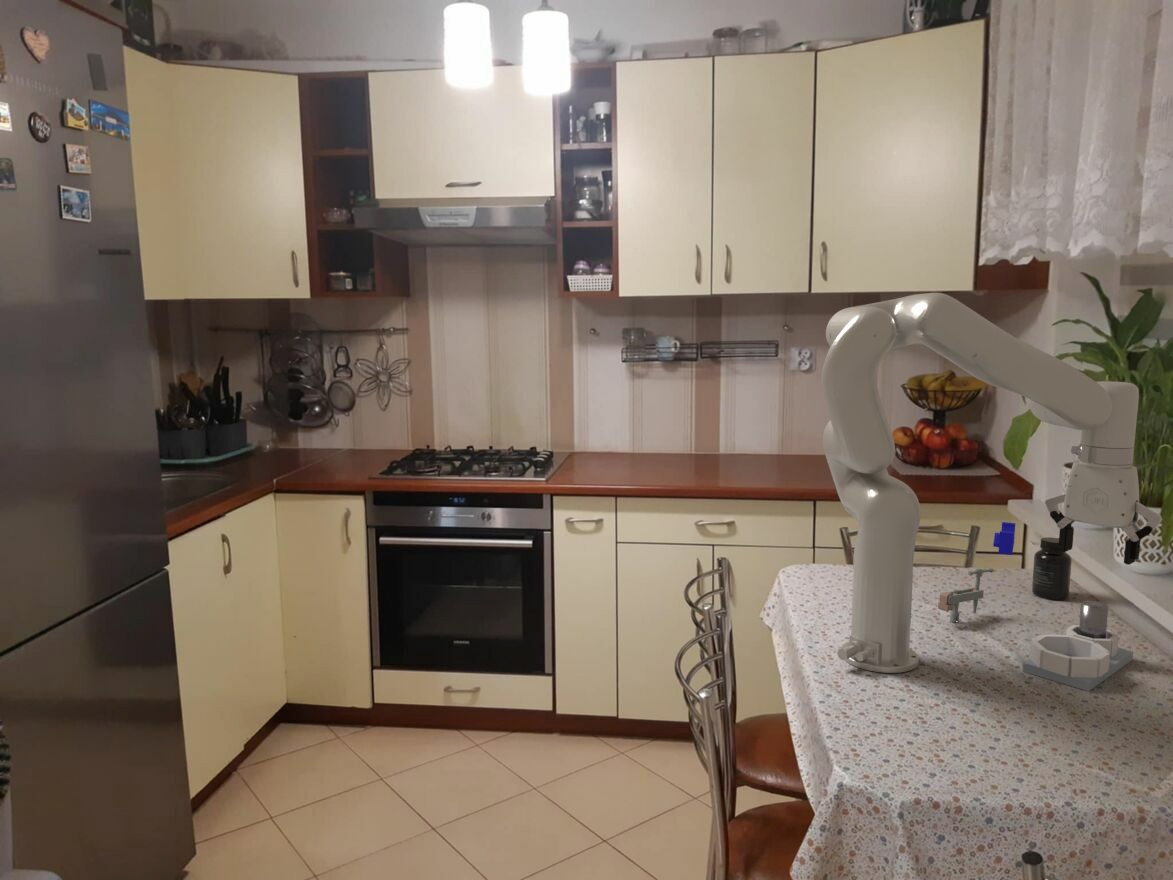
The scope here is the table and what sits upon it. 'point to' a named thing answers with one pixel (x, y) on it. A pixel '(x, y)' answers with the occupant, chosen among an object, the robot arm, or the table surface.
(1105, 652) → the fitting plate
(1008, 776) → the table surface
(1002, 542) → the blue block
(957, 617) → the clamp
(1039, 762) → the table surface
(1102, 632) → the grey cylinder
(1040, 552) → the supplement bottle
